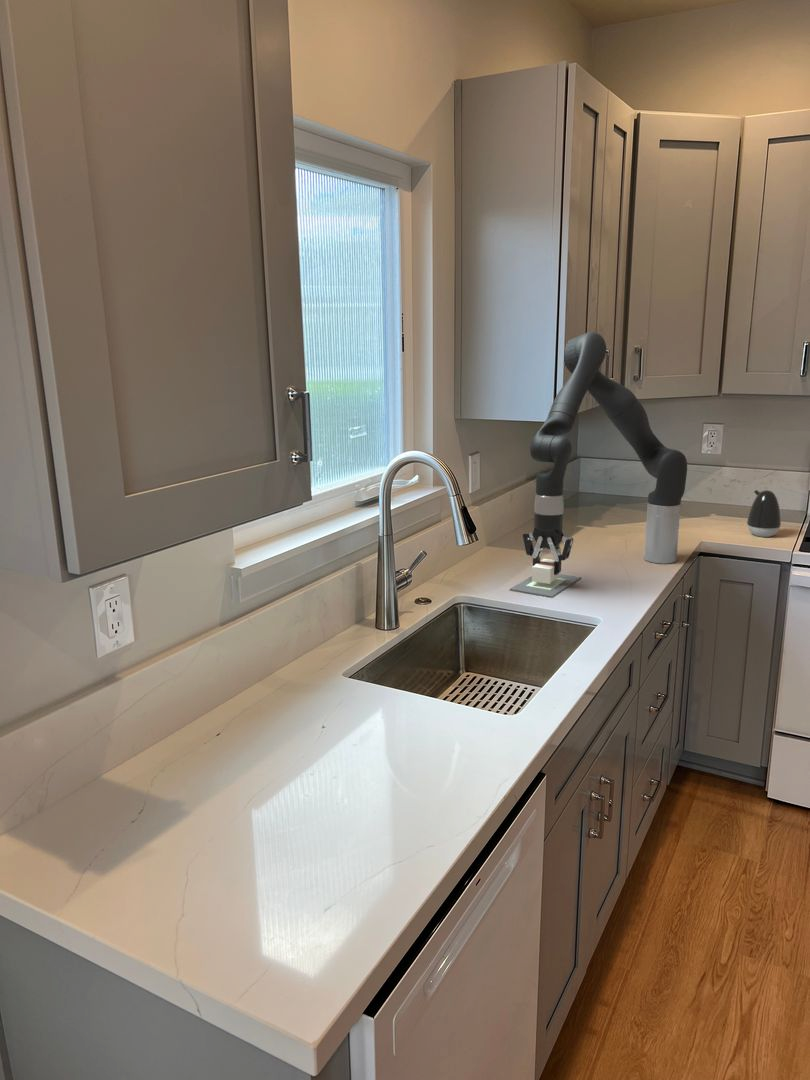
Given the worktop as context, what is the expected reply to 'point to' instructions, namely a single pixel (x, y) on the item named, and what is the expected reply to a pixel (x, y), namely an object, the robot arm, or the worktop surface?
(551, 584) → the mat
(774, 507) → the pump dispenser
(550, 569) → the card deck
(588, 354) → the robot arm
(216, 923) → the worktop surface
